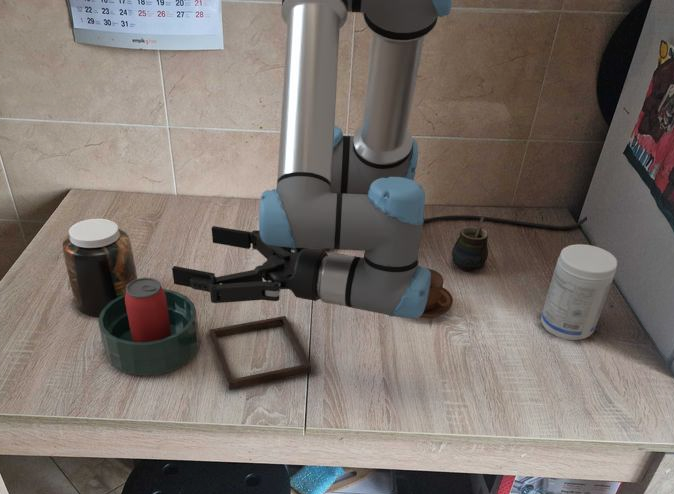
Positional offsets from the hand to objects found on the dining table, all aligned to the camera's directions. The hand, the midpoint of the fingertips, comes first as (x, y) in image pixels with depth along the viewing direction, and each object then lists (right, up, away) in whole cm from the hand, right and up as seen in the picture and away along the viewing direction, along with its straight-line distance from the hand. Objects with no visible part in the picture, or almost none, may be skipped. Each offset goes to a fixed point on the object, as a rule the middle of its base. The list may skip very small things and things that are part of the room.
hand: (194, 253), depth 101 cm
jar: (-20, -6, +21) cm, 30 cm away
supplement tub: (+65, -11, +18) cm, 69 cm away
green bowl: (-9, -15, +10) cm, 20 cm away
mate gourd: (+51, +2, +34) cm, 61 cm away
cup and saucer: (+39, -7, +22) cm, 45 cm away
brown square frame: (+9, -16, +10) cm, 21 cm away
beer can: (-9, -14, +10) cm, 20 cm away
